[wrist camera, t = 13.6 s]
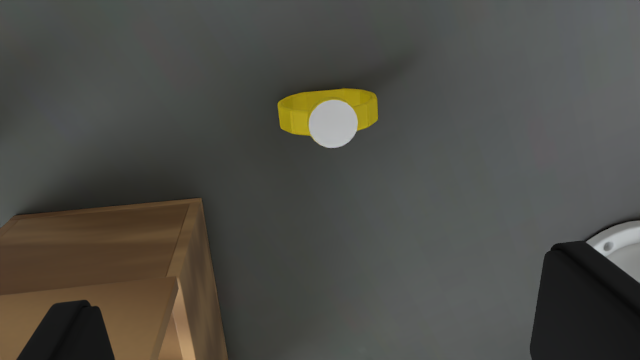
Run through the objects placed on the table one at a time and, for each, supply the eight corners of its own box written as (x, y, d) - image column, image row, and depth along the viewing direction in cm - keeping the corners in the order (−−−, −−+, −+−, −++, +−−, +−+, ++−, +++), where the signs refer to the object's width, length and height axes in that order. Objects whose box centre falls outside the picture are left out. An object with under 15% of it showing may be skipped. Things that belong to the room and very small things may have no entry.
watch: (365, 74, 30) (389, 92, 25) (367, 115, 31) (390, 142, 26) (274, 84, 29) (278, 104, 24) (279, 125, 31) (284, 154, 25)
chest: (233, 388, 39) (225, 507, 30) (80, 409, 38) (25, 539, 29) (201, 197, 32) (179, 277, 23) (13, 215, 31) (-87, 306, 22)
